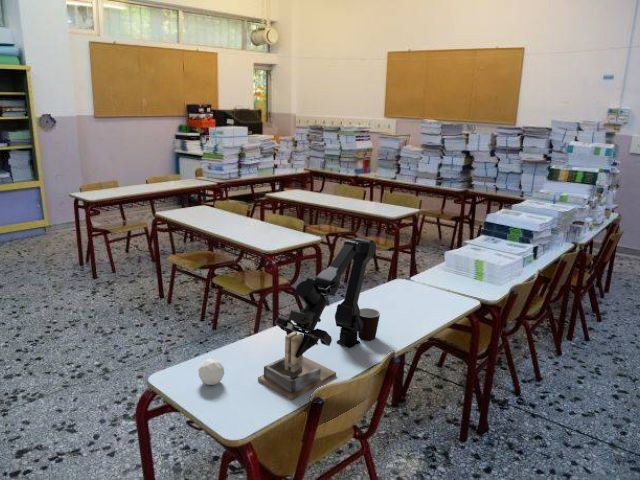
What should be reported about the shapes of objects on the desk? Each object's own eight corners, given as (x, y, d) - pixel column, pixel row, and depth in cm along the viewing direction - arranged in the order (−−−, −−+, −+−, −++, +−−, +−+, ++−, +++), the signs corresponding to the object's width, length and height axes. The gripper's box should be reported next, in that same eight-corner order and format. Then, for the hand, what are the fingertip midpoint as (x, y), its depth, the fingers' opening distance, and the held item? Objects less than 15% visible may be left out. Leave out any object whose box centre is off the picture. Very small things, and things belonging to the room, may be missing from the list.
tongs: (293, 368, 163) (294, 331, 160) (302, 372, 161) (303, 334, 158) (284, 374, 159) (284, 336, 156) (293, 378, 157) (294, 339, 154)
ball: (210, 394, 156) (200, 383, 150) (200, 375, 161) (190, 364, 155) (232, 379, 158) (222, 368, 152) (221, 361, 163) (211, 349, 157)
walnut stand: (302, 359, 174) (303, 346, 173) (336, 375, 164) (336, 362, 163) (257, 380, 160) (258, 367, 159) (291, 400, 150) (292, 385, 149)
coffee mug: (377, 343, 188) (378, 318, 185) (353, 340, 189) (355, 315, 187) (379, 330, 199) (381, 306, 196) (357, 327, 200) (359, 304, 198)
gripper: (279, 292, 162) (255, 336, 156) (328, 307, 152) (305, 354, 146) (293, 308, 170) (272, 350, 165) (341, 322, 160) (320, 368, 155)
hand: (291, 355), depth 157 cm, fingers open, 4 cm apart
